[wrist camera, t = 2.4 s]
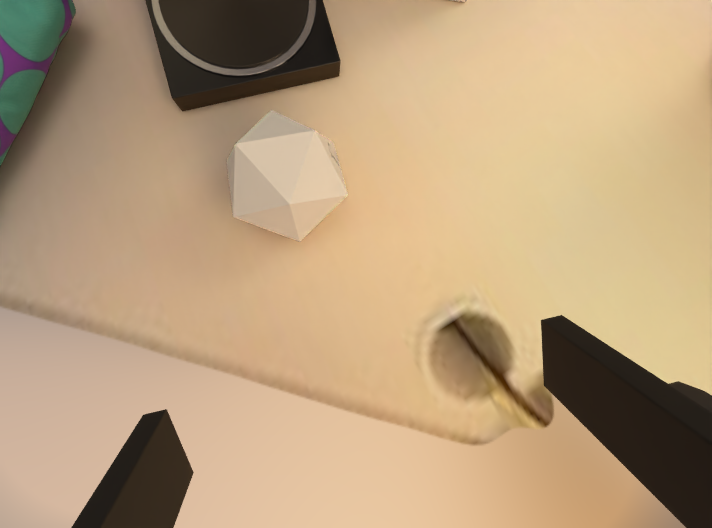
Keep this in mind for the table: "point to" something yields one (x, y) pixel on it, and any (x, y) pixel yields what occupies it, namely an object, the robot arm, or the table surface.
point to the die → (284, 177)
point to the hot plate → (241, 47)
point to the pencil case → (27, 57)
